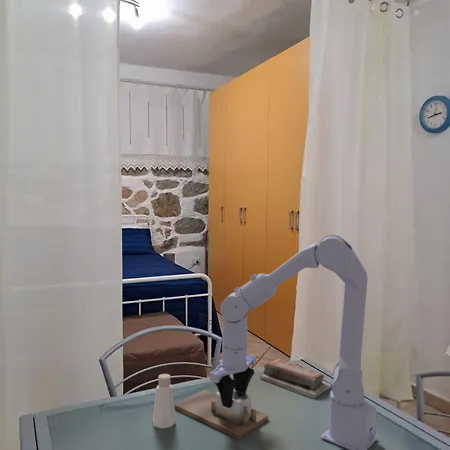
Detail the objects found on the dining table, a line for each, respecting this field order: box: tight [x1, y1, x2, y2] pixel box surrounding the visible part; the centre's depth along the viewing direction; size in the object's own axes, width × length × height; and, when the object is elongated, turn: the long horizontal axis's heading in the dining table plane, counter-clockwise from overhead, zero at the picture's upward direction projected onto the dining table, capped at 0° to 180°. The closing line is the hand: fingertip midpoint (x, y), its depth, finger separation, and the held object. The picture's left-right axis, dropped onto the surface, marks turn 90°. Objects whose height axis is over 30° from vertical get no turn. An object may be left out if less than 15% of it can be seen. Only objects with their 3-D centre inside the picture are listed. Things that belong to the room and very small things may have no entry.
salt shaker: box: [152, 373, 177, 429], centre depth 100 cm, size 5×5×11 cm
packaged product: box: [259, 358, 332, 399], centre depth 123 cm, size 18×5×10 cm
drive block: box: [215, 389, 252, 424], centre depth 102 cm, size 7×4×5 cm, turn 50°
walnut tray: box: [174, 389, 269, 440], centre depth 104 cm, size 20×11×4 cm, turn 50°
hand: (233, 402), depth 102 cm, fingers closed on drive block, 4 cm apart
